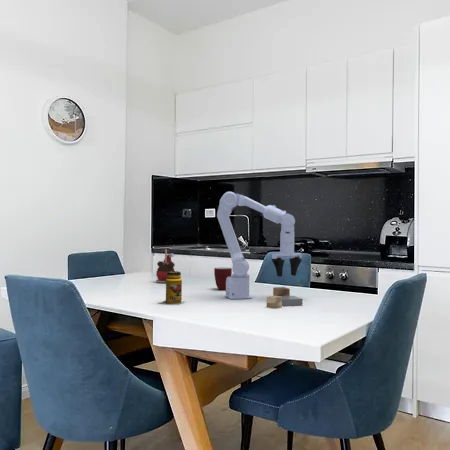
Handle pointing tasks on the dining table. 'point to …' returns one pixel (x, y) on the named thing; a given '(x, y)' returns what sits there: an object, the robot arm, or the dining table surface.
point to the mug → (222, 276)
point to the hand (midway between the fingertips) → (286, 275)
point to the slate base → (291, 301)
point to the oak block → (274, 302)
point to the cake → (164, 267)
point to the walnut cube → (281, 291)
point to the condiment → (173, 288)
